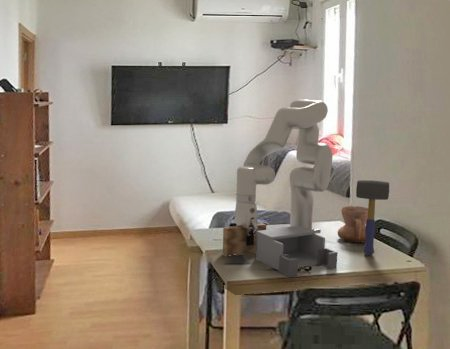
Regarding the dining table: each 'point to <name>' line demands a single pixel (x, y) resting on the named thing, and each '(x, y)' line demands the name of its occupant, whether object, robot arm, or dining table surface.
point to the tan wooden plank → (238, 240)
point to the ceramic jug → (353, 223)
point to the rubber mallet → (371, 206)
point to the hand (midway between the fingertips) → (244, 242)
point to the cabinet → (293, 249)
